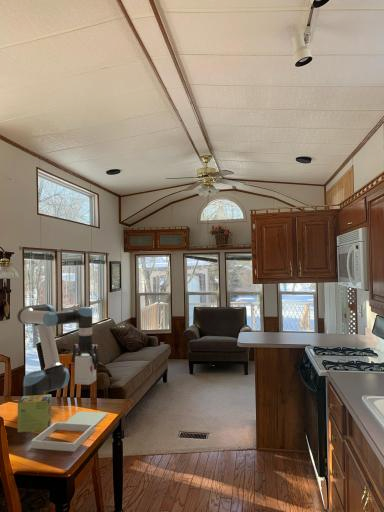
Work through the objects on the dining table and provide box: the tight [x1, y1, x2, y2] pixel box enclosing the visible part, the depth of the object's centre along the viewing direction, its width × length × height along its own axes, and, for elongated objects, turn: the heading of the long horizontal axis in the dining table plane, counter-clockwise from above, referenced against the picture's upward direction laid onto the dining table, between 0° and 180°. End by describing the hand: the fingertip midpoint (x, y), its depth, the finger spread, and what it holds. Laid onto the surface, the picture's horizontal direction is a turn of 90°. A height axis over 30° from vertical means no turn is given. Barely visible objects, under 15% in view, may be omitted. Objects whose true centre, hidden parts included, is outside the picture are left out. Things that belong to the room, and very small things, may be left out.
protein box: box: [17, 394, 53, 433], centre depth 207 cm, size 10×15×16 cm
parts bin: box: [30, 421, 96, 453], centre depth 192 cm, size 22×22×4 cm
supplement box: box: [74, 353, 97, 386], centre depth 216 cm, size 9×9×15 cm
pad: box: [64, 410, 109, 428], centre depth 215 cm, size 18×18×1 cm
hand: (85, 375), depth 216 cm, fingers closed on supplement box, 9 cm apart
